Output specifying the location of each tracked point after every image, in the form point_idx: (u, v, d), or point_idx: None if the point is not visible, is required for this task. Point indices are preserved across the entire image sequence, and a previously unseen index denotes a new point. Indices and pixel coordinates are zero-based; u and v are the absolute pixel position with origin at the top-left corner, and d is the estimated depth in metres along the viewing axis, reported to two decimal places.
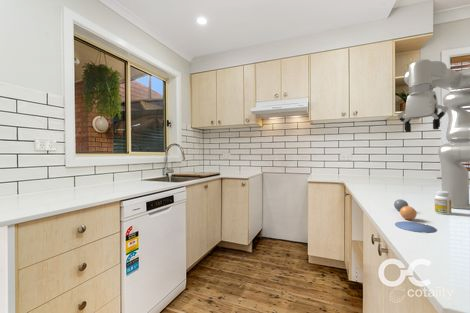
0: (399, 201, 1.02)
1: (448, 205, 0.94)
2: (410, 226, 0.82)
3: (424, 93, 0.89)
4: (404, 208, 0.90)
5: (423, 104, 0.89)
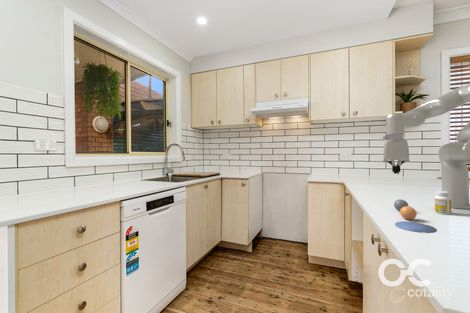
0: (399, 201, 1.02)
1: (448, 205, 0.94)
2: (410, 226, 0.82)
3: None
4: (404, 208, 0.90)
5: None
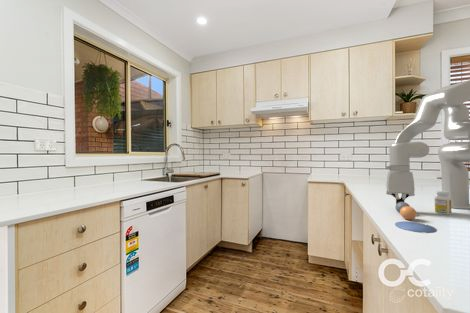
0: None
1: (448, 205, 0.94)
2: (410, 226, 0.82)
3: None
4: (404, 208, 0.90)
5: None
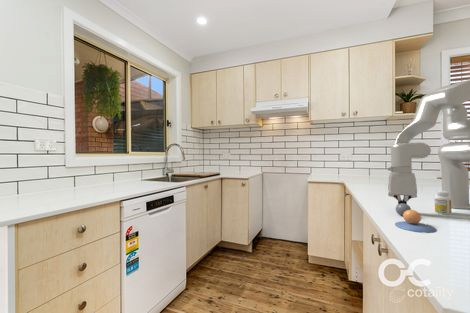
0: None
1: (448, 205, 0.94)
2: (410, 226, 0.82)
3: None
4: (408, 222, 0.85)
5: None
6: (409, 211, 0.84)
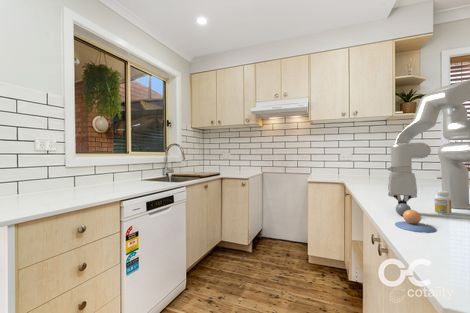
0: None
1: (448, 205, 0.94)
2: (410, 226, 0.82)
3: None
4: (408, 222, 0.85)
5: None
6: (409, 211, 0.84)
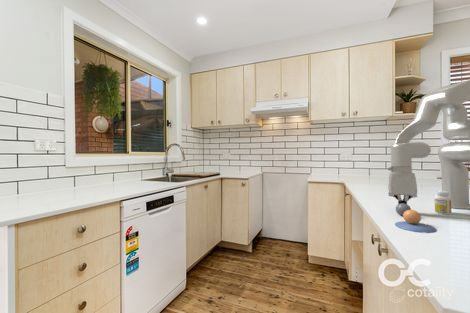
0: None
1: (448, 205, 0.94)
2: (410, 226, 0.82)
3: None
4: (408, 222, 0.85)
5: None
6: (409, 211, 0.84)
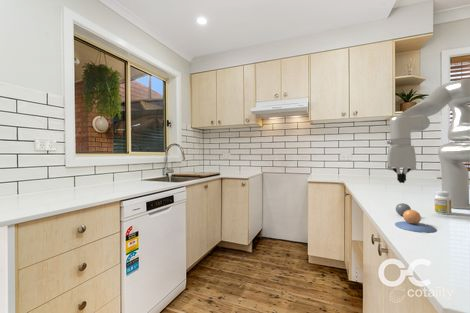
0: None
1: (448, 205, 0.94)
2: (410, 226, 0.82)
3: None
4: (408, 222, 0.85)
5: None
6: (409, 211, 0.84)
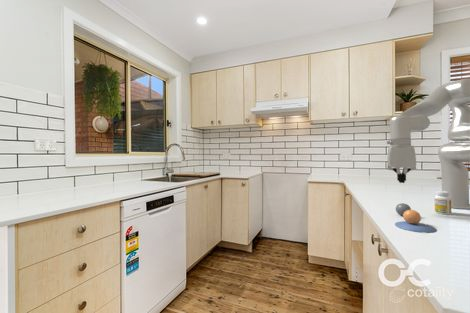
0: None
1: (448, 205, 0.94)
2: (410, 226, 0.82)
3: None
4: (408, 222, 0.85)
5: None
6: (409, 211, 0.84)
